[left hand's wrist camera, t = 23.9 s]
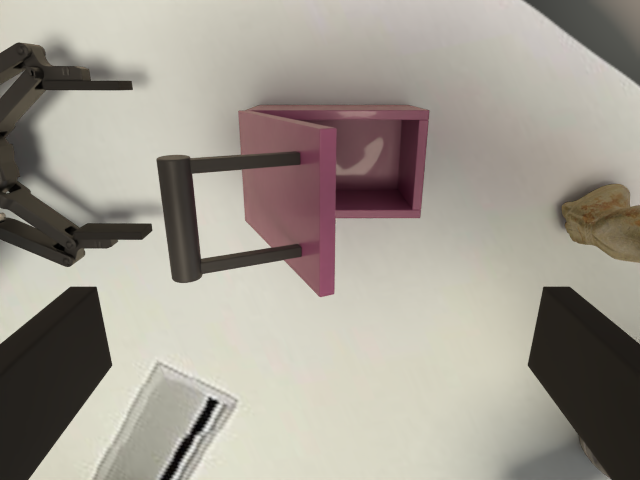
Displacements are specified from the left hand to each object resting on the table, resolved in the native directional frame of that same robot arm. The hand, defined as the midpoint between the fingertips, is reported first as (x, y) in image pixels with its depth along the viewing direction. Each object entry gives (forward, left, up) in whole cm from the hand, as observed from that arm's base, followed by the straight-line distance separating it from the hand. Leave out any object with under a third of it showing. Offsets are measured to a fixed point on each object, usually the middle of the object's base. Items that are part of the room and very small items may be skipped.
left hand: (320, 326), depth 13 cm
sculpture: (-29, -9, -35) cm, 46 cm away
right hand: (+15, +9, -29) cm, 34 cm away
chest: (-1, -1, -35) cm, 35 cm away
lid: (+2, +1, -19) cm, 19 cm away
